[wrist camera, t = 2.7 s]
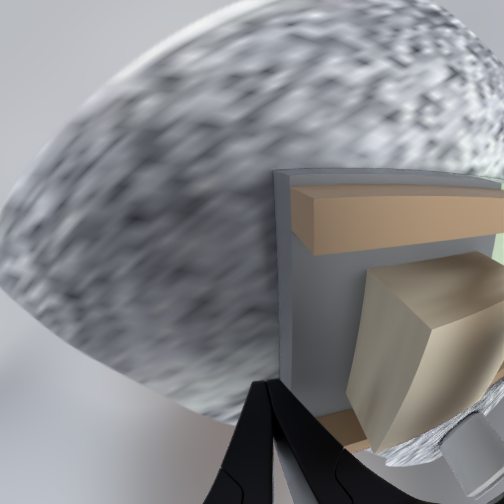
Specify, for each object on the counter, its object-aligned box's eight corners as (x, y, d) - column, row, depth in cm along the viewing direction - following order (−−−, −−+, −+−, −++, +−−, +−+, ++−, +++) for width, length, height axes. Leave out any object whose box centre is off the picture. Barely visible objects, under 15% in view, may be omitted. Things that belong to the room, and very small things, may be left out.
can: (469, 409, 20) (513, 471, 9) (485, 408, 22) (523, 459, 11) (428, 448, 22) (462, 511, 11) (450, 443, 24) (481, 495, 13)
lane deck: (554, 189, 11) (588, 203, 7) (527, 310, 15) (554, 331, 11) (272, 169, 9) (313, 183, 5) (279, 402, 14) (296, 469, 9)
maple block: (477, 250, 9) (534, 284, 5) (444, 358, 11) (480, 400, 8) (367, 268, 8) (432, 329, 5) (345, 392, 10) (374, 454, 7)
